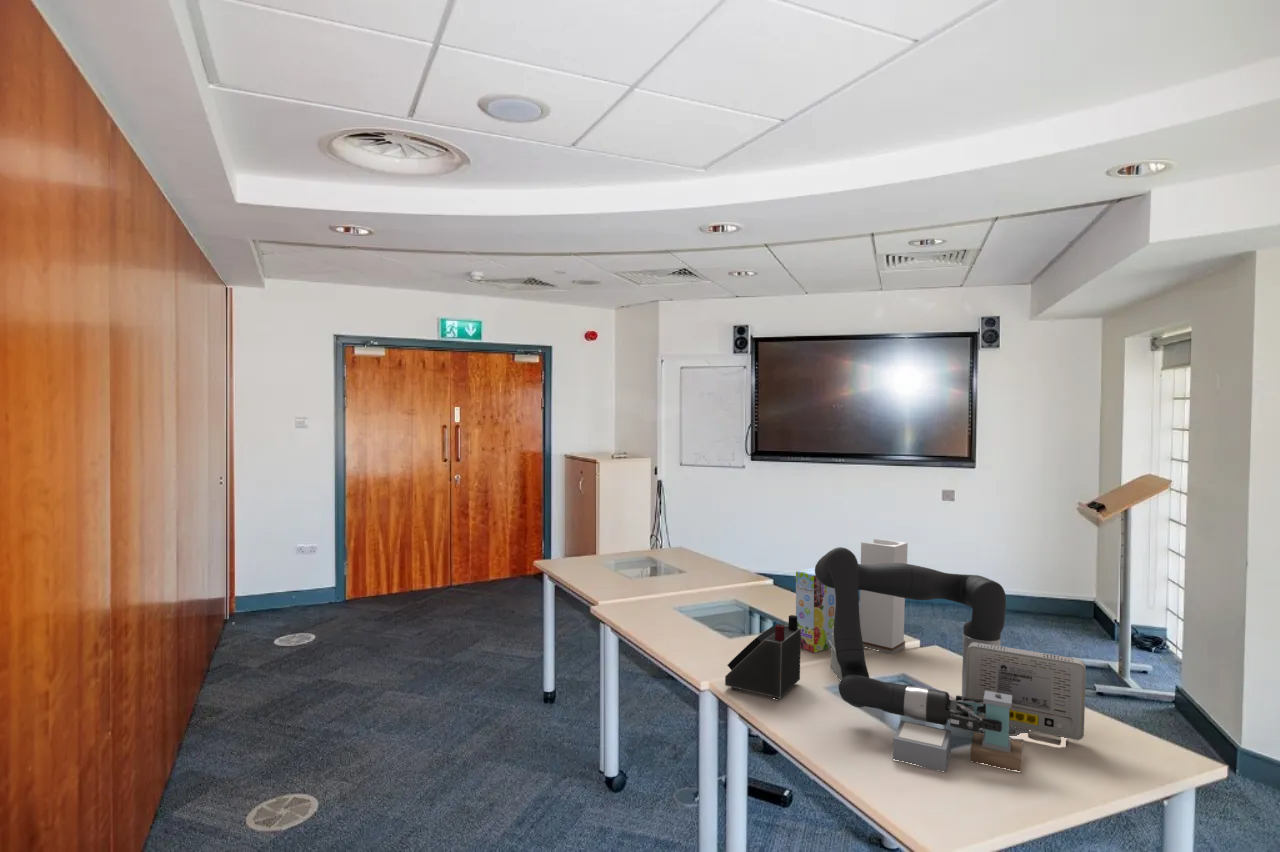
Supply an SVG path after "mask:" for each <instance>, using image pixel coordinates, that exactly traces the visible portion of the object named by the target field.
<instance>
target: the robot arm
mask: <svg viewBox="0 0 1280 852" xmlns="http://www.w3.org/2000/svg"><path fill="white" fill-rule="evenodd" d="M814 568H815V575H816V577H817V579H818V580H819V581H820V582H821V583H822V584H823V585H825V586H827V587H830V588H835V595H836V608H835V618H834V643H835V650H836V657H837V661H838V663H839V665H840V668H841V673H842V680H841V681H839V684H838V692H839V695H840V697H841V698H842V700H843V701H844V702H846V703H847V704H849V705H850V706H853V707H854V708H864V707H867V708H872V709H873V708H874V709H878V710H882V711H883V712H885V713H889V714H893V715H897V716H903V717H907V718H910V719H913V720H916V721H921V722H927V723H932V724H936V725H941V726H947V725H948V722H949V726H950V727H953V728H957V729H962V730H967V731H969V732H973V733H974V732H978V733H980V731H979V730H981V731H982V729H988V730H993V731H997V732H1001V731H1002V722H1001V721H998V720H993V719H988V718H982V717H980V716H978V715H984V714H985V713H986V704H985V703H983V700H981V699H976V698H970V697H966V660H967V649H968V647H969V645H970V644H971V643H973V642H977V643H983V644H989V645H995V646H1001V634H1002V632H1003V629H1004V627H1005V617H1006V608H1007V607H1006V606H1007V599H1006V598H1007V597H1006V592H1005V590H1004V587H1003V586H1002V585H1001V584H1000V583H999V582H997V581H995V580H992V579H990V578H988V577H985V576H983V575H982V576H981V575H980V574H979V575H978V574H961V573H960V574H959V573H947V572H943V571H940V570H936V569H934V568H933V569H932V568H929V567H924V566H921V565H917V564H916V565H915V564H909V563H907V564H905V563H883V564H872V565H864V564H861V563H859V562H858V559H857V556H856V555H855V553H854V552H852V551H851V550H850V549H848V548H846V547H842V546H841V547H839V546H838V547H835V548H833V549H831V550H829V551H828V552H827V553H825V554H824V555H823V556H822V557H820V558H819V560H818V561H817V562H816V564H815V567H814ZM860 590H864V591H870V592H875V593H880V594H886V595H892V596H896V597H901V598H905V599H908V600H914V601H930V600H939V599H940V600H946V601H949V602H951V601H952V602H955V603H958V604H962V605H965V606H967V607H969V608H971V609H972V610H971V611H972V613H971V620H969V621H967V622H965V623H964V625H963V630H962V631H963V634H962V635H963V636H962V640H963V641H962V671H961V673H962V674H961V676H962V677H961V678H962V679H961V695H955V699H954V700H952V699H950V694H949V692H947V691H945V690H944V691H943V690H939V689H934V688H929V687H922V686H916V685H906V684H901V683H894V682H886V681H883V680H882V681H881V680H880V679H879V680H878V679H876V678H872V677H870V675H869V671H868V670H869V669H868V668H867V667H868V666H867V664H866V655H865V653H866V652H865V648H864V646H863V640H862V634H861V626H860V616H859V613H860Z"/></svg>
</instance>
